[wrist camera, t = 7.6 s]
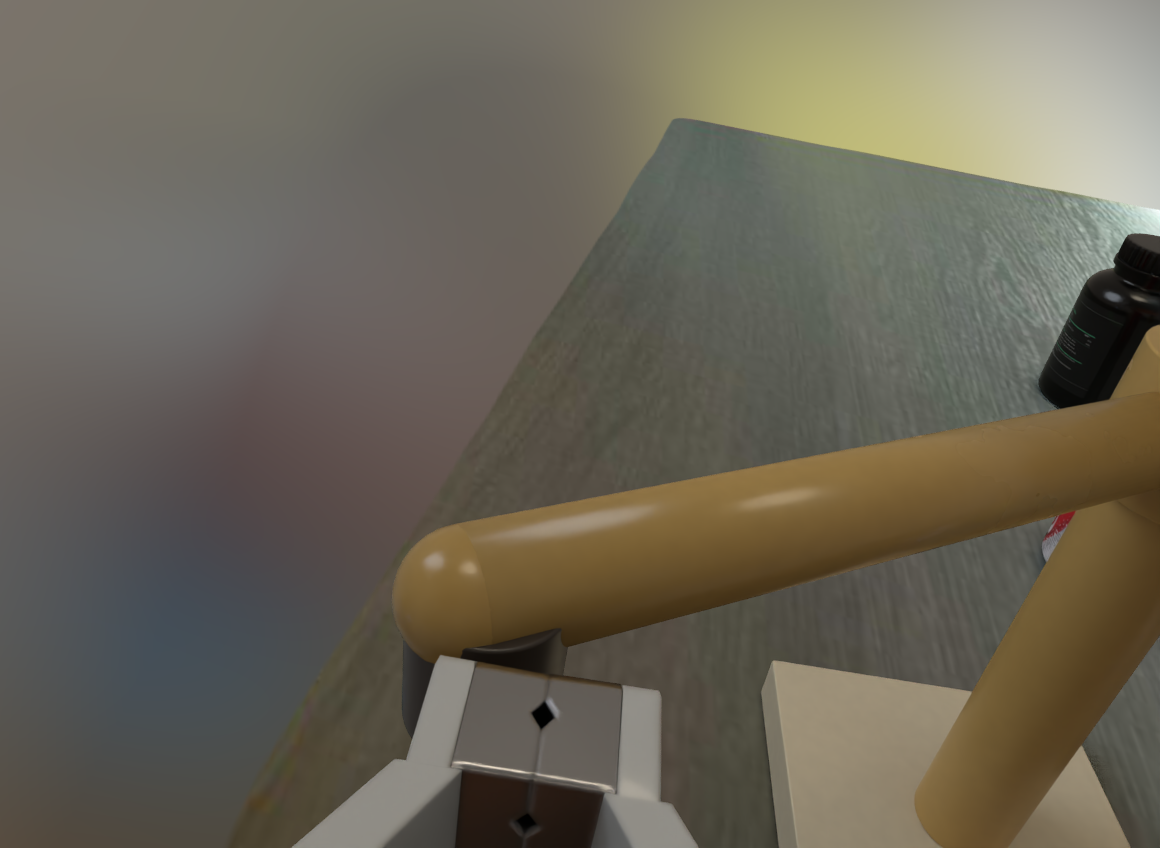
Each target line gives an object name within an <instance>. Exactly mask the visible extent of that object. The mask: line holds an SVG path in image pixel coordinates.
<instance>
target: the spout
mask: <svg viewBox="0 0 1160 848" xmlns="http://www.w3.org/2000/svg"><path fill="white" fill-rule="evenodd" d="M1114 500H1116V501H1117V502H1119V503H1120V504H1122V505H1123V506H1125V507H1126V508H1128V509H1130V510H1131V511H1133V512H1135V513H1137V514H1138V515H1140V516H1142V517H1144V518H1146V519H1148V520H1150V521H1152V522H1154V523H1156V524H1159V525H1160V325H1157V326H1154V327H1152V328H1151V329H1149V330H1148V331H1147V332H1146V334H1145V336H1144V338H1143V339H1142V341H1141V343H1140V345H1139V347H1138V348H1137V350H1136V352H1135V354H1134V356H1133V358H1132V359H1131V361H1130V363H1129V365H1128V367H1127V368H1126V370H1125V372H1124V374H1123V376H1122V378H1121V379H1120V381H1119V383H1118V385H1117V387H1116V388H1115V390H1114V392H1113V394H1112V396H1111V398H1110V399H1109V400H1105V401H1100V402H1094V403H1089V404H1084V405H1078V406H1073V407H1068V408H1063V409H1057V410H1052V411H1047V412H1042V413H1036V414H1031V415H1026V416H1021V417H1015V418H1010V419H1005V420H1000V421H994V422H989V423H984V424H979V425H973V426H968V427H963V428H958V429H952V430H947V431H942V432H936V433H931V434H926V435H921V436H915V437H910V438H905V439H900V440H894V441H889V442H884V443H879V444H873V445H868V446H863V447H858V448H852V449H847V450H842V451H837V452H831V453H826V454H821V455H815V456H810V457H805V458H800V459H794V460H789V461H784V462H779V463H773V464H768V465H763V466H758V467H752V468H747V469H742V470H737V471H731V472H726V473H721V474H716V475H710V476H705V477H700V478H694V479H689V480H684V481H679V482H673V483H668V484H663V485H658V486H652V487H647V488H642V489H637V490H631V491H626V492H621V493H616V494H610V495H605V496H600V497H595V498H589V499H584V500H579V501H574V502H568V503H563V504H558V505H552V506H547V507H542V508H537V509H531V510H526V511H521V512H516V513H510V514H505V515H500V516H495V517H489V518H484V519H479V520H474V521H468V522H463V523H458V524H453V525H449V526H446V527H443V528H439V529H437V530H436V531H434V532H432V533H430V534H428V535H426V536H425V537H424V538H423V539H422V540H420V541H419V542H418V543H417V544H415V545H414V546H413V547H412V549H411V550H410V551H409V552H408V554H407V555H406V556H405V557H404V559H403V561H402V563H401V565H400V567H399V569H398V571H397V574H396V577H395V581H394V584H393V591H392V610H393V615H394V619H395V623H396V625H397V627H398V630H399V632H400V634H401V636H402V638H403V639H404V640H403V683H402V714H403V720H404V724H405V726H406V729H407V731H408V733H409V735H410V736H411V738H412V739H413V735H414V732H415V729H416V725H417V722H418V719H419V715H420V712H421V709H422V705H423V702H424V699H425V695H426V692H427V689H428V686H429V682H430V679H431V676H432V672H433V669H434V666H435V663H436V662H437V660H438V658H439V656H440V655H443V656H449V657H455V658H460V659H466V660H472V661H477V662H478V661H479V662H484V663H489V664H495V665H500V666H505V667H510V668H516V669H521V670H526V671H532V672H537V673H542V674H548V675H549V674H556V675H563V672H564V667H565V661H566V655H567V649H568V647H569V646H573V645H577V644H581V643H584V642H588V641H592V640H595V639H599V638H603V637H607V636H610V635H614V634H618V633H622V632H625V631H629V630H633V629H637V628H640V627H644V626H648V625H651V624H655V623H659V622H663V621H666V620H670V619H674V618H678V617H681V616H685V615H689V614H693V613H696V612H700V611H704V610H707V609H711V608H715V607H719V606H722V605H726V604H730V603H734V602H737V601H741V600H745V599H749V598H752V597H756V596H760V595H763V594H767V593H771V592H775V591H778V590H782V589H786V588H790V587H793V586H797V585H801V584H804V583H808V582H812V581H816V580H819V579H823V578H827V577H831V576H834V575H838V574H842V573H846V572H849V571H853V570H857V569H860V568H864V567H868V566H872V565H875V564H879V563H883V562H887V561H890V560H894V559H898V558H902V557H905V556H909V555H913V554H916V553H920V552H924V551H928V550H931V549H935V548H939V547H943V546H946V545H950V544H954V543H957V542H961V541H965V540H969V539H972V538H976V537H980V536H984V535H987V534H991V533H995V532H999V531H1002V530H1006V529H1010V528H1013V527H1017V526H1021V525H1025V524H1028V523H1032V522H1036V521H1040V520H1043V519H1047V518H1051V517H1055V516H1058V515H1062V514H1066V513H1069V512H1073V511H1077V510H1081V509H1084V508H1088V507H1092V506H1096V505H1099V504H1103V503H1107V502H1111V501H1114Z"/></svg>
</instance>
